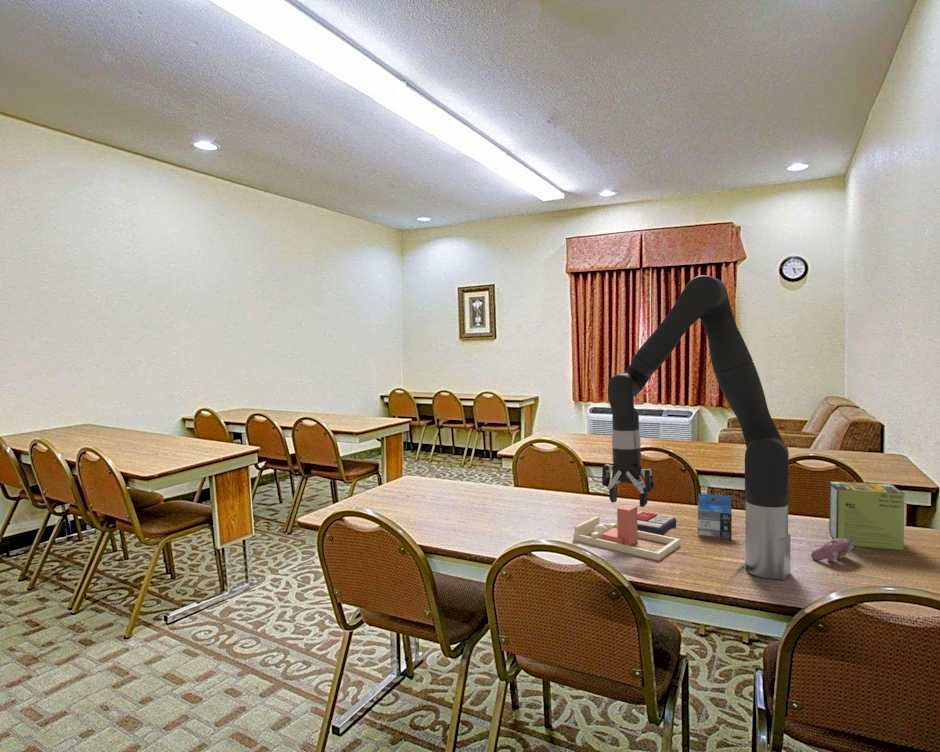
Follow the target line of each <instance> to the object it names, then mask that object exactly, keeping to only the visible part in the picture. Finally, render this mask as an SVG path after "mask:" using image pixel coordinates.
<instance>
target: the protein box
mask: <svg viewBox="0 0 940 752" xmlns="http://www.w3.org/2000/svg"><path fill="white" fill-rule="evenodd" d="M905 495H906V494H905V493H904V492H903V491H902V490H900V489H898V488H897V487H896V486H894V485H892V484H888V483H870V482H869V483H868V482H845V481H829V521H828V523H829V525H828V529H829V532H830V533H829V532H828V533H829V535H830V534H831V535H832V536H831V535H830V536H831V537H832V539H833V538H834V539H836V538H841V539H844V538H845V539H846V540H849V541H850V542H851V543H853V544H854V547H861V548H862V547H863V548H872V549H873V548H874V549H884V550H886V549H887V550H897V551H904V547H905V544H904V542H905V538H904V537H905V536H904V534H905Z"/></svg>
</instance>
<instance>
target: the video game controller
mask: <svg viewBox="0 0 940 752" xmlns="http://www.w3.org/2000/svg"><path fill="white" fill-rule="evenodd" d="M854 547H855V546H854V544H853V543H851V542H850V541H849V540H846V539H845V538H844V539H841V538H836V539H833V538H832V540H830V541H828V542H827V543H825V544H823V545H821V546H820V547H819V548H817V549H815V550H813V551H812V552H811V555H810V557H811V559H812V560H814V561H823V560H826V559H827V560H828V562H830V563H831V562H833V561H835V560H836V559H837V560H842V559H843V558H844V557H845V556H846V555H847V554H849V553H850V552H851V551H852V550H853V549H854Z"/></svg>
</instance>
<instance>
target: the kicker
mask: <svg viewBox="0 0 940 752" xmlns="http://www.w3.org/2000/svg"><path fill="white" fill-rule="evenodd" d="M616 509H617V510H616V515H617V516H616V519H617V522H616V524H617V528H613V529H611V530H609V531H607V532H605V533H603V534H602V538H601V539H602V540H606V541H610V542H615V543H619V544H623V545H628V546H632V547H633V546H634V545H635V544H637V543H638V540H639V539H638V530H637V515H638V506H637V505H631V504H627V503H626V504H624V505H621V506H618V507H617V508H616Z"/></svg>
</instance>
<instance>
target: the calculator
mask: <svg viewBox="0 0 940 752" xmlns="http://www.w3.org/2000/svg"><path fill="white" fill-rule="evenodd" d="M675 527H676V528H677V518H675V516H672V515H671V516H670V515H665V514H664V515H663V514H657V513H653V512H646V511H642V512H639V513H637V530H638V531H643V532H648V533H653V534H657V535H662V536H663V534H664V533H665V532H667V531H668V530H669V529H673V530H674V528H675ZM676 528H675V529H676Z"/></svg>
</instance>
